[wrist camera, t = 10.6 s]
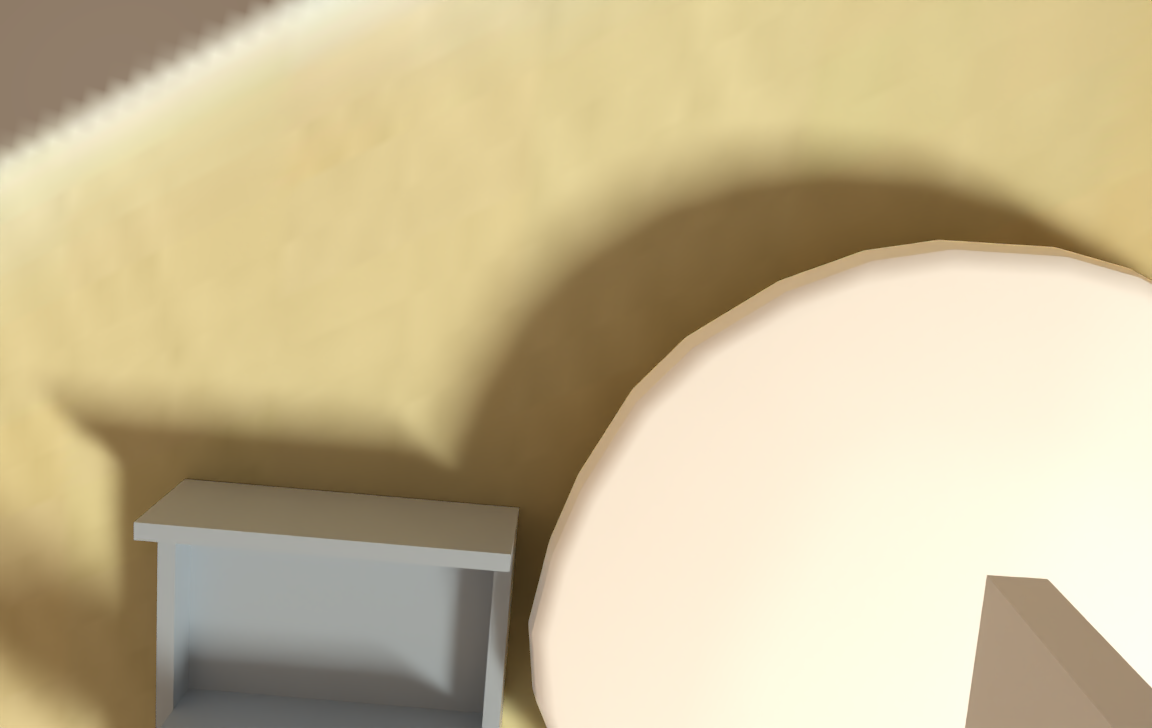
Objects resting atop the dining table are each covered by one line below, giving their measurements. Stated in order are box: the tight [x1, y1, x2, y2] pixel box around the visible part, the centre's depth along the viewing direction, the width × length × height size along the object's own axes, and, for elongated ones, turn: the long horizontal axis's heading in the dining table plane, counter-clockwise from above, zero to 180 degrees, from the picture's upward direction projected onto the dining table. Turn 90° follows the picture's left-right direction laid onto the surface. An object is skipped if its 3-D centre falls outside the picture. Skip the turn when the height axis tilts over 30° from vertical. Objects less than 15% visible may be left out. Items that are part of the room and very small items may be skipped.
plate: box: [528, 240, 1152, 728], centre depth 37 cm, size 28×6×27 cm
